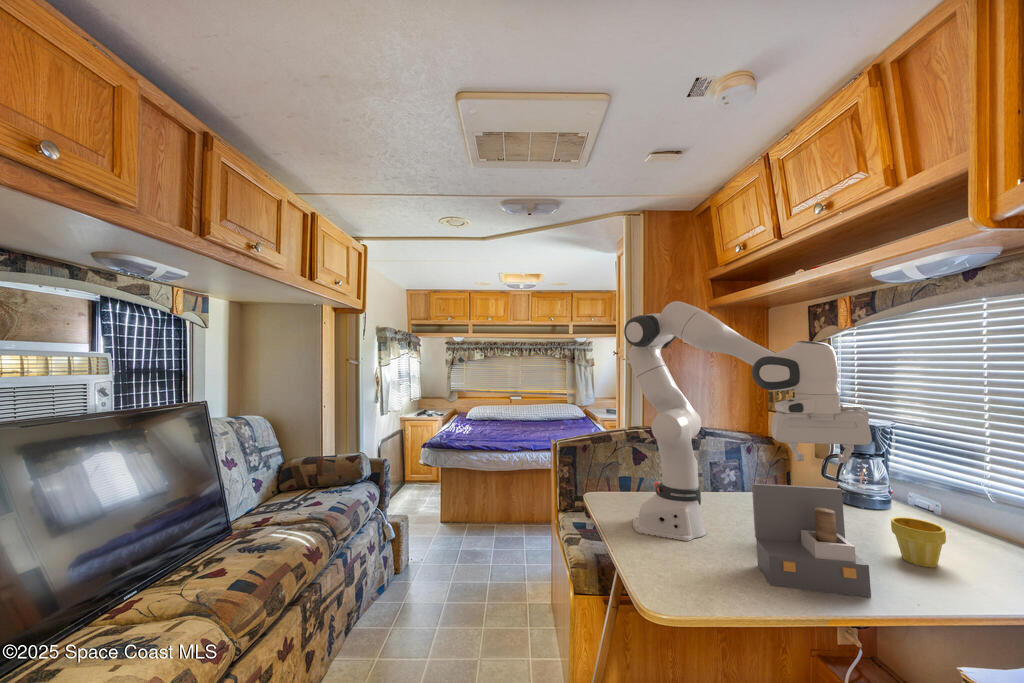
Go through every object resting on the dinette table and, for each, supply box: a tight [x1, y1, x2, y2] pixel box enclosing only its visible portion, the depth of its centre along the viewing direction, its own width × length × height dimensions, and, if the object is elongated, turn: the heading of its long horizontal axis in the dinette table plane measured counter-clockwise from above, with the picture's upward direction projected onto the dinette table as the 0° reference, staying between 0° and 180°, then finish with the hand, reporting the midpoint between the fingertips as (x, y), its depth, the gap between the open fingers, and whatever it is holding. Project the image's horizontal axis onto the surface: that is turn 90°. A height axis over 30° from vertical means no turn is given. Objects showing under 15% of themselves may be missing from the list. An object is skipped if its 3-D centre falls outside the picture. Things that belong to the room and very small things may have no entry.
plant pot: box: [890, 516, 947, 568], centre depth 107 cm, size 10×10×10 cm
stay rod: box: [815, 508, 837, 543], centre depth 98 cm, size 4×4×10 cm
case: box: [751, 482, 872, 598], centre depth 99 cm, size 20×12×21 cm, turn 74°
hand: (821, 461), depth 99 cm, fingers open, 8 cm apart
